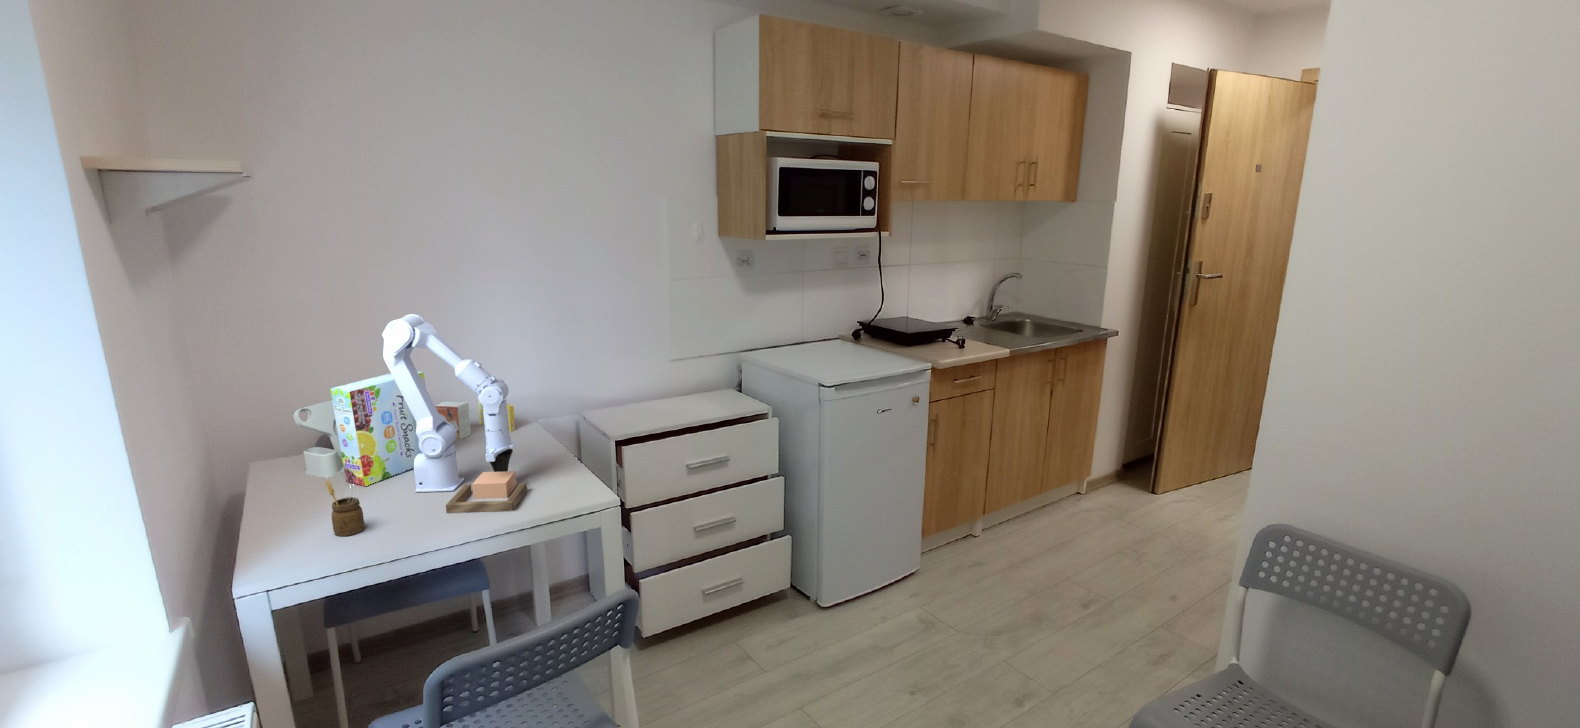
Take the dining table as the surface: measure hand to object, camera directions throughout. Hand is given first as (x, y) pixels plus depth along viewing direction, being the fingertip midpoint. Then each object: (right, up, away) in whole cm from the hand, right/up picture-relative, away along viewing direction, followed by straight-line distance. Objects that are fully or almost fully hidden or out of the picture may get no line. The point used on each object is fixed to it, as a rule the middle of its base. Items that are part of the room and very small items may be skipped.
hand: (501, 478), depth 189 cm
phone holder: (-49, +1, +13) cm, 50 cm away
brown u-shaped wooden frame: (+1, -4, -10) cm, 11 cm away
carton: (0, -3, -5) cm, 6 cm away
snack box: (-33, 0, +9) cm, 35 cm away
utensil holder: (-24, -8, -26) cm, 36 cm away
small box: (-30, +7, +38) cm, 48 cm away
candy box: (-20, +9, +47) cm, 52 cm away
